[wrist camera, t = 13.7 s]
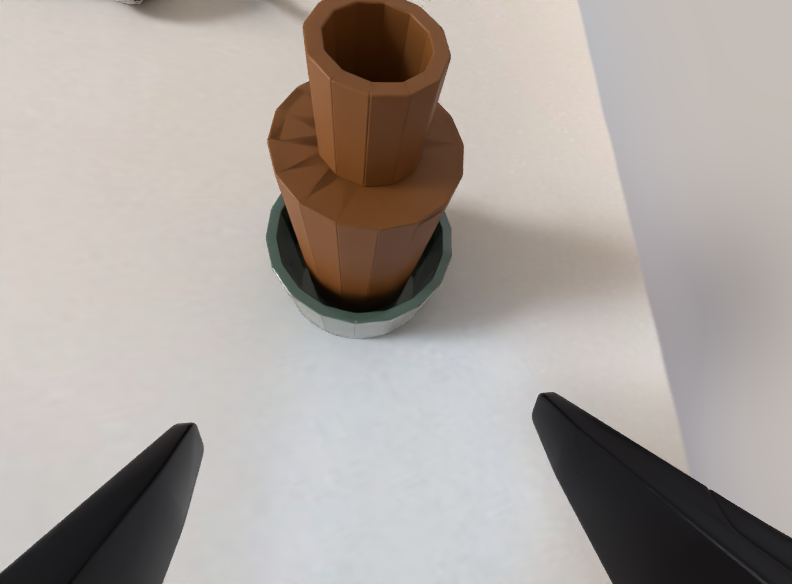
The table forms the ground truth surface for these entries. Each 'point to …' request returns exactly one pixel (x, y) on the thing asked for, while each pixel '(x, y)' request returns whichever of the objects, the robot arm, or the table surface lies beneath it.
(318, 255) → the bottle
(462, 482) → the table surface
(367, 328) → the cup
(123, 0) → the clip-on lamp
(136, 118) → the table surface
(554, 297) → the table surface
